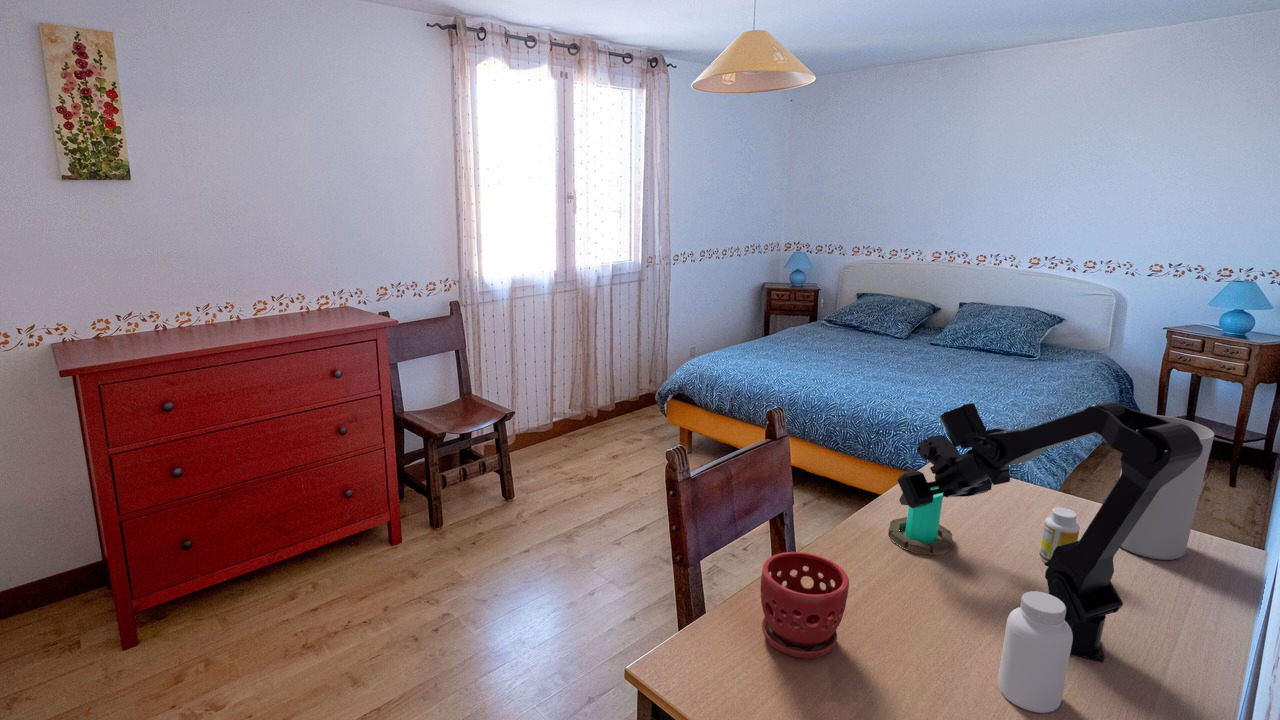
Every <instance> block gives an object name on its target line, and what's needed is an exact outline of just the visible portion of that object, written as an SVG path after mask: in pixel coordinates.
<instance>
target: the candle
mask: <svg viewBox="0 0 1280 720" xmlns="http://www.w3.org/2000/svg"><path fill="white" fill-rule="evenodd" d="M935 489H937V488H935ZM931 490H932V489H931ZM943 498H944V497H943V493H941V494H937V495H933V502H932V503H930V504H928V505H926V506H922V507H917V508H911V507H910V506H908V509H907V516H906V517H907V524H906V532H905V536H906V537H908V538H909V539H910V540H915V541H920V542H925V543H931V542H936V541H937V536H938V528H939V524H940V520H941V514H942V513H941V512H942V504H943Z"/></svg>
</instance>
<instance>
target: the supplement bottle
mask: <svg viewBox="0 0 1280 720" xmlns="http://www.w3.org/2000/svg"><path fill="white" fill-rule="evenodd" d="M1077 517H1078V515H1077V513H1076V512H1075V511H1074V510H1072V509H1068V508H1064V507H1053V508H1052V511H1051V514H1050V515H1049V516H1048V517H1046V519H1045V521H1044V527H1043V532H1042V539H1041V542H1040V549H1039V558H1040V559H1041V560H1042V561H1043V562H1044V563H1046V562H1048V561H1049V560H1050V559H1051V557H1052V555H1053V552H1054V550H1055V548H1056V547H1057V546H1061V545H1064V544H1068V543H1072V542H1076V541H1079V540H1078V539H1079V533H1080V528H1081V527H1080V524H1078V522H1077Z"/></svg>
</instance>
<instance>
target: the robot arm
mask: <svg viewBox="0 0 1280 720" xmlns="http://www.w3.org/2000/svg"><path fill="white" fill-rule="evenodd" d="M1153 415H1154V414H1149V413H1145V412H1142V411H1139V410H1135V409H1132V408H1130V407H1128V406H1126V405H1124V404H1122V403H1119V402H1117V401H1107V402H1101V403H1096V404H1091V405H1088V407H1086V408H1085V409H1084V408H1083V409H1081V410H1079V411H1076V412H1073V413H1070V414H1067V415H1063V416H1060V417H1058V418H1054V419H1051V420H1049V421H1046V422H1043V423H1040V424H1037V425H1033V426H1029V427H1021V428H1012V429H1008V430H1007V429H1003V428H999V427H998V428H991V429H987V427H986V426H985V424H984V422H983V420H982V419H981V416H980V415H979V412H978V409H977V407H976V405H975V403H973V402H971V403H965V404H963V405H962V406H960V407H956V408H953V409H951V410H949V411H945V412H944V413H942V414H941V415H940V416H939V419H940V421H941V423H942V425H943V427H944V429H945V431H946V434H947V435H948V437H949V438H948V437H947V436H945V435H944V434H940V435H934V436H928V437H926V439H922V441H921V442H918V444H917V445H918V446H917V448H916V452H917V454H918V455H919V457H920V458H922V460H923V461H929V462H930V464H932V466H930V467H929V469H930V471H931V473H932V474H933V475H934V480H935V481H930V482H929V481H927V479H926V478H927V477H925V474H924V473H923V472H921V471H920V470H915V471H909V472H905V473H903V474H901V475H900V476H898V477H897V483H898V484H899V487H900V489H901V492H902V494H901V496H900V498H899V502H900V505H902V506H908V507H909V506H910V507H911V508H917V507H922V506H926V505H928V504H930V503H932V502H933V495H937V494H941V493H943V498H954V497H957V498H959V497H960V498H961V497H971V496H972V497H973V496H976V495H981V494H985V493H987V492H989V491H992V487H993V485H994V486H996V485H997V486H998V485H1002V484H1006V483H1010V482H1011V475H1010V472H1011V469H1009V468H1007V467H1006V466H1011V465H1013V466H1014V465H1018V464H1021V463H1027V462H1029V461H1031V460H1033V459H1035V458H1036V457H1039V456H1040V455H1042V454H1043V453H1044V452H1045V451H1046V450H1048V449H1050V448H1052V447H1055V446H1059V445H1062V444H1066V443H1069V442H1073V441H1076V440H1079V439H1082V438H1085V437H1088V436H1092V435H1095V434H1098V435H1100V436H1101V437H1102V439H1103V440H1105V442H1106V443H1107V444H1108V445H1109V446H1110V447H1111V448H1112V449H1114V450H1116V451H1118V452H1119V453H1121V456H1120V464H1121V465H1120V466H1121V468H1122V473H1121V472H1120V473H1121V476H1120V475H1119V477H1120V478H1118V479H1117V481H1116V482H1115V484H1114V485H1113V487H1112V488H1111V490H1110V492H1109V493H1108V495H1107V496H1106V498H1105V499H1104V502H1102V505H1101V506H1100V507H1099V509H1098V510H1097V513H1096V514H1095V516H1094V518H1093V519H1092V520H1091V521H1090V524H1089V525H1088V527H1087V528H1086V530H1085V531H1084V533H1083V534H1082V536H1081V538H1080V539H1079V540H1077V541H1076V542H1072V543H1068V544H1064V545H1061V546H1057V547H1056V548H1055V550H1054V552H1053V555H1052V557H1051V559H1050V560H1049V561H1048V562H1044V566H1046V567H1047V568H1046V569H1045V575H1044V577H1045V580H1046V581H1047V582H1046V583H1047V588H1048V589H1047V590H1048V594H1050V595H1052V596H1054V597H1056V598H1058V599H1059V600H1061V601H1062V602H1063V603H1064V604H1065V606H1066V615H1065V619H1064V620H1065V621H1066V622H1067V623H1068V625H1069V626H1070V628H1071V630H1072V634H1073V641H1072V647H1071V652H1070V655H1074V656H1078V657H1082V658H1086V659H1089V660H1094V661H1099V662H1106V656H1105V653H1104V650H1103V647H1102V643H1101V640H1102V635H1103V631H1104V627H1105V622H1106V617H1107V615H1110V614H1117V613H1118V612H1119V610H1121V608H1122V607H1123V606H1124V602H1123V600H1122V599H1121V597H1120V595H1119V594H1118V592H1117V590H1116V589H1115V586H1114V584H1113V583H1112V581H1111V580H1112V577H1113V575H1114V573H1115V567H1114V565H1115V564H1114V558H1115V555H1116V554H1117V552H1118V551H1119V549H1120V548H1121V545H1122V544H1123V542H1124V541H1125V539H1126V538H1127V536H1128V535H1129V533H1130V532H1131V530H1132V529H1133V528H1134V526H1135V525H1136V523H1137V522H1138V520H1139V519H1140V517H1141V516H1142V514H1143V513H1144V511H1145V510H1146V509H1147V507H1148V506H1149V504H1150V503H1151V501H1152V500H1153V498H1154V497H1155V495H1156V494H1157V492H1158V491H1159V490H1160V488H1161V487H1163V486H1164V485H1165V484H1167V483H1168V482H1170V481H1171V480H1173V479H1174V478H1176V477H1177V476H1179V475H1180V474H1182V473H1183V472H1184V471H1185V470H1186V469H1187V468H1188V467H1190V466H1191V465H1192V464H1193V463H1194V462H1195V461H1196V460H1197V459H1198V458H1199V457H1200V455H1201V453H1202V450H1203V445H1202V444H1201V442H1200V439H1199V437H1198V435H1197V434H1196V433H1195V431H1193V430H1192V429H1191V428H1190V427H1188V426H1186V425H1184V424H1180V423H1171V422H1169V421H1167V420H1164V419H1162V418H1160V417H1156V416H1153ZM959 446H960V448H961V449H963V450H965V449H969V448H970V449H969V450H967V451H966V452H964V453H962V454H960V452H959V449H958V448H957V447H959ZM1121 468H1120V469H1121ZM935 488H937V489H935ZM931 489H932V490H931Z"/></svg>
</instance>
